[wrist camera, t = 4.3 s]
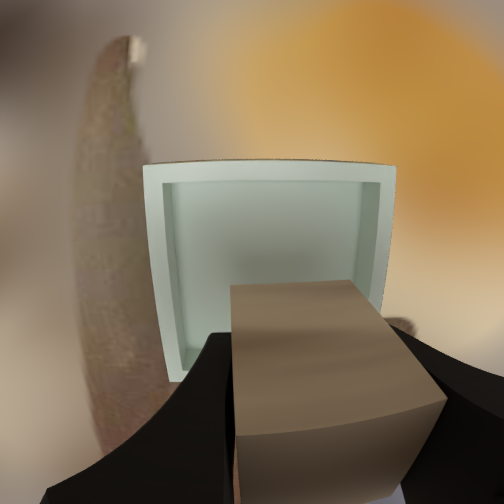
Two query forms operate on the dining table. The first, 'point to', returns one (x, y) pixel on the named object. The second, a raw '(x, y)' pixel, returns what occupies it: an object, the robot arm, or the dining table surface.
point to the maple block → (323, 395)
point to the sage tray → (258, 236)
